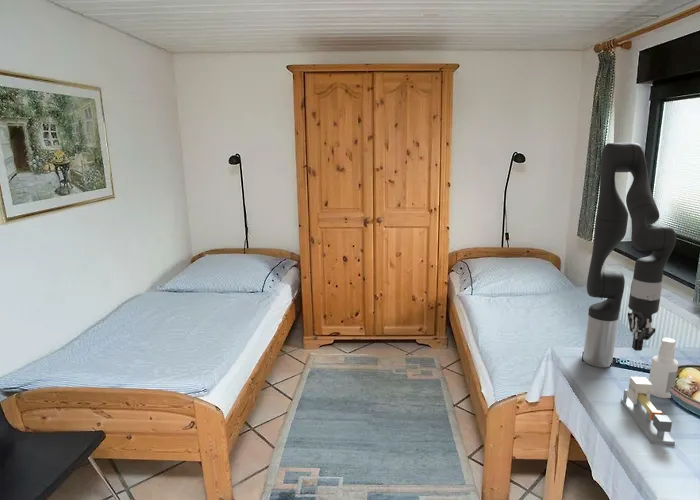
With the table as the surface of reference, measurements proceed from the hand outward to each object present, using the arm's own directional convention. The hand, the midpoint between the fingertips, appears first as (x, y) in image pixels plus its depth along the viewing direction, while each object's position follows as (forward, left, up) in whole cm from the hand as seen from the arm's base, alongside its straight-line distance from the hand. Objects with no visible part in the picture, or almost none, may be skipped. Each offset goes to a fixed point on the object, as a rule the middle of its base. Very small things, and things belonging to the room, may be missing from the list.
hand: (636, 349), depth 144 cm
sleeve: (+5, 0, -14) cm, 15 cm away
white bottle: (-5, +11, -17) cm, 21 cm away
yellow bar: (+12, 0, -13) cm, 18 cm away
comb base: (+11, 0, -17) cm, 20 cm away
